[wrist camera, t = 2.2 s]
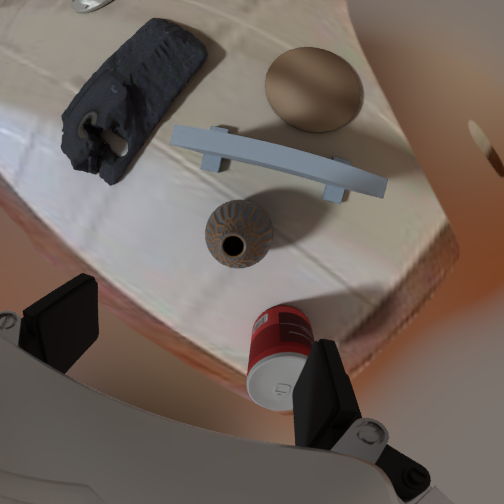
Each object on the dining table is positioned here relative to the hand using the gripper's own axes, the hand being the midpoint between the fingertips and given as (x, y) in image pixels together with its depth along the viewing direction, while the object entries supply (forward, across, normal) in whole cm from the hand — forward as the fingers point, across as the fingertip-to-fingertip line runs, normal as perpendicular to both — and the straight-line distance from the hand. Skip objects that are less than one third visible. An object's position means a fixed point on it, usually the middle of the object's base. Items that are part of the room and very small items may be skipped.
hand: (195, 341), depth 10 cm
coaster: (+22, -4, -18) cm, 29 cm away
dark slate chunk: (+23, +19, -14) cm, 33 cm away
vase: (+23, 0, 0) cm, 23 cm away
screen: (+22, -2, -8) cm, 24 cm away
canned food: (+23, -8, +12) cm, 27 cm away
